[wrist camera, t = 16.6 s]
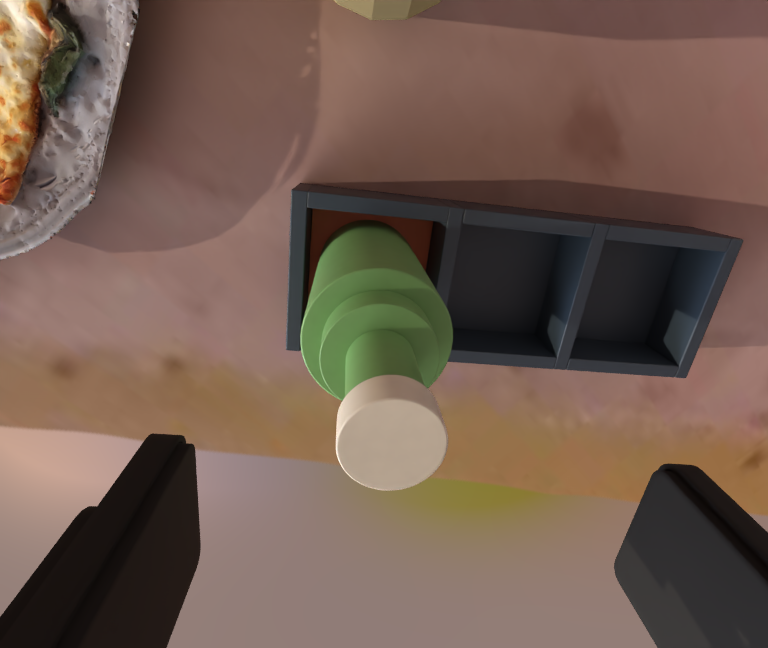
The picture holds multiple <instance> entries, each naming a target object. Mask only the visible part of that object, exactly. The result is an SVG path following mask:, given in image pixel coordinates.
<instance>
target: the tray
mask: <svg viewBox="0 0 768 648" xmlns="http://www.w3.org/2000/svg"><path fill="white" fill-rule="evenodd" d="M358 220H375V221H380V222H383V223H386V224H388V225H390V226H392V227H393V228H395V229H396V230H397V231H398V232H400V233H401V234H402V236H403V237H404V238H405V239H406V241H407V242H408V244H409V245H410V247H411V249H412V250H413V252H414V254H415V255H416V257H417V259H418V260H419V262H420V264H421V265H422V267H423V269H424V270H425V272H426V274H427V275H428V277H429V279H430V280H431V282H432V284H433V285H434V287H435V289H436V290H437V292H438V293H439V295H440V297H441V298H442V300H443V302H444V304H445V306H446V308H447V310H448V312H449V315H450V318H451V322H452V328H453V342H452V349H451V353H450V356H449V359H448V361H447V362H462V363H476V364H490V365H504V366H518V367H532V368H547V369H562V370H577V371H591V372H605V373H620V374H634V375H648V376H662V377H677V378H686V377H687V375H688V372H689V370H690V367H691V365H692V363H693V360H694V358H695V355H696V353H697V351H698V348H699V346H700V343H701V341H702V339H703V336H704V334H705V332H706V329H707V327H708V324H709V322H710V320H711V317H712V315H713V312H714V310H715V308H716V305H717V303H718V300H719V298H720V296H721V293H722V291H723V288H724V286H725V284H726V281H727V279H728V277H729V274H730V272H731V269H732V267H733V265H734V262H735V260H736V257H737V255H738V253H739V250H740V248H741V245H742V243H743V239H740V238H736V237H731V236H727V235H723V234H719V233H715V232H710V231H706V230H702V229H698V228H694V227H687V226H678V225H669V224H660V223H651V222H642V221H633V220H624V219H615V218H606V217H598V216H589V215H580V214H571V213H562V212H553V211H544V210H535V209H526V208H517V207H509V206H500V205H491V204H482V203H473V202H464V201H455V200H446V199H437V198H428V197H420V196H411V195H402V194H393V193H384V192H375V191H366V190H357V189H348V188H340V187H331V186H322V185H313V184H304V183H300V184H299V185H297V186H296V187H295V188H293V189H292V190H291V217H290V246H289V274H288V303H287V332H286V350H292V351H300V350H301V345H300V334H301V326H302V323H303V319H304V315H305V311H306V307H307V304H308V300H309V296H310V292H311V288H312V285H313V281H314V277H315V273H316V270H317V266H318V262H319V258H320V254H321V251H322V249H323V246H324V244H325V243H326V241H327V240H328V238H329V237H330V236H331V235H332V234H333V233H334V232H335V231H336V230H337V229H339V228H340V227H342V226H344V225H346V224H348V223H350V222H353V221H358Z"/></svg>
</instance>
